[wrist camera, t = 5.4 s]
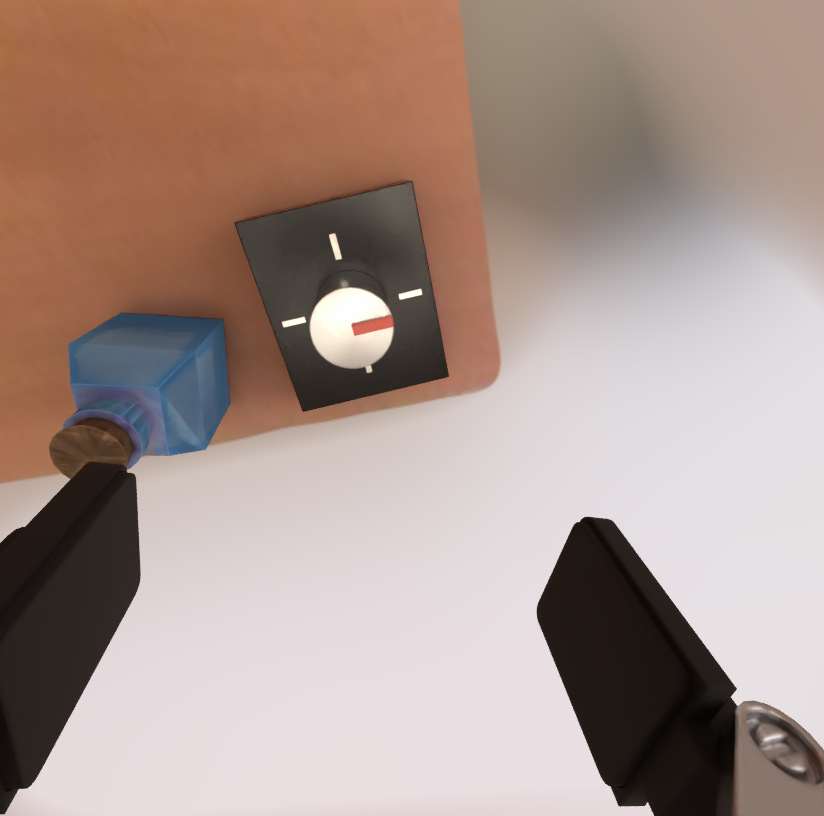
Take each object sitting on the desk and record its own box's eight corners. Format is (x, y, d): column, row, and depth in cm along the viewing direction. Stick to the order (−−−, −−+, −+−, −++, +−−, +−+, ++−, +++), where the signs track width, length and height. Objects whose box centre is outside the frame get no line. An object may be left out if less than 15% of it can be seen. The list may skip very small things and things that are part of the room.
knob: (327, 349, 29) (322, 379, 25) (305, 280, 27) (296, 299, 23) (395, 333, 29) (403, 360, 25) (379, 262, 27) (383, 278, 23)
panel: (306, 393, 33) (302, 413, 31) (245, 218, 28) (233, 222, 25) (441, 361, 33) (449, 378, 31) (406, 180, 28) (412, 180, 25)
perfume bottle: (223, 319, 30) (153, 396, 20) (229, 404, 33) (171, 512, 22) (121, 312, 29) (-10, 390, 19) (136, 400, 32) (29, 511, 22)
